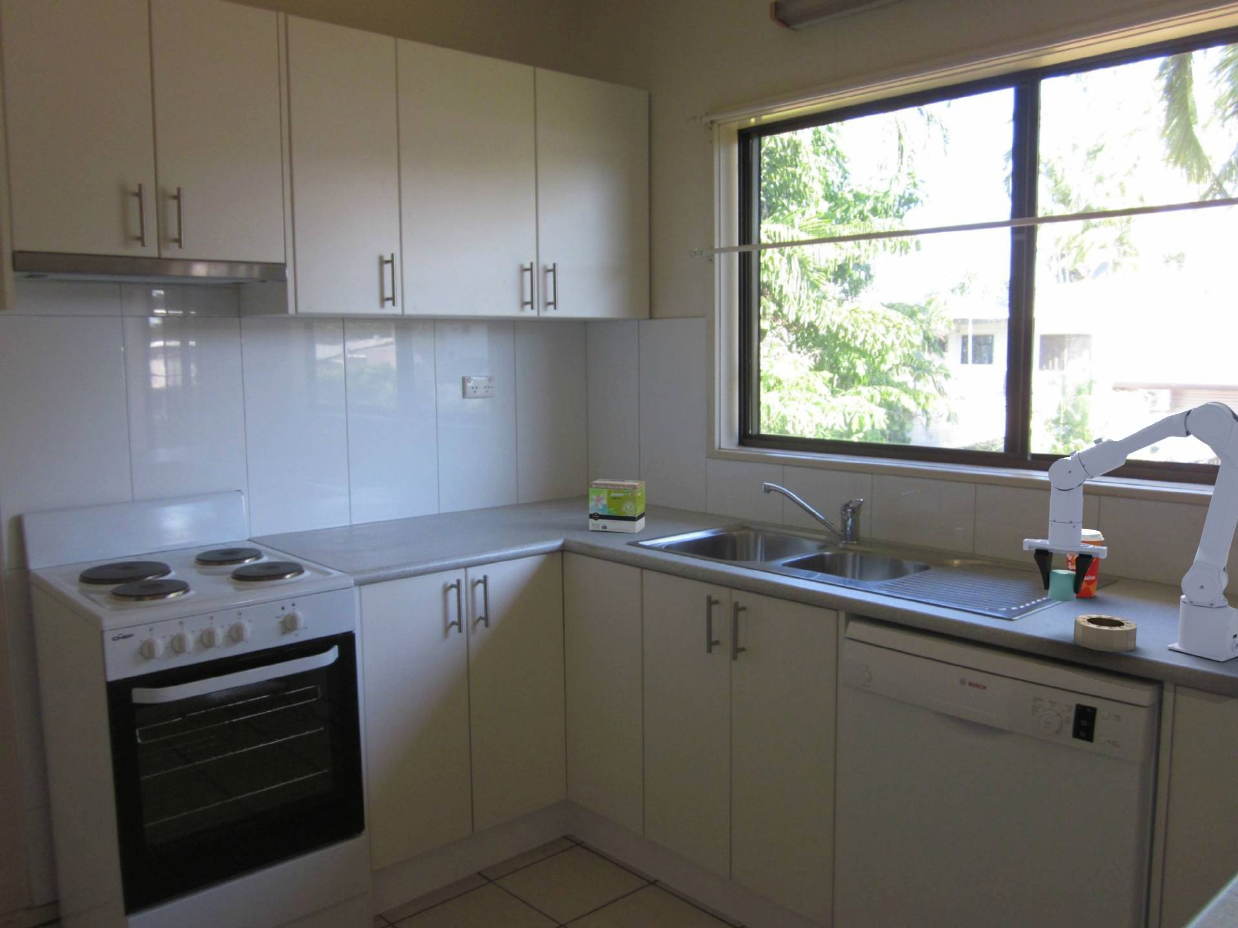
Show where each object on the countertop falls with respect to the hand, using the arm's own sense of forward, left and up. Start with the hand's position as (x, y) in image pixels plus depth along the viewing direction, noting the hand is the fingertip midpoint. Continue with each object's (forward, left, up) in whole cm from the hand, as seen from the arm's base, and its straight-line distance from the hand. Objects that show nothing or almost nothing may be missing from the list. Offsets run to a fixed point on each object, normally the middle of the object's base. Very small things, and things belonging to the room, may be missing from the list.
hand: (1062, 590), depth 188 cm
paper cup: (+13, -28, -8) cm, 32 cm away
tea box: (+136, +13, -8) cm, 137 cm away
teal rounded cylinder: (0, 0, -2) cm, 2 cm away
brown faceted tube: (-10, +2, -8) cm, 13 cm away
